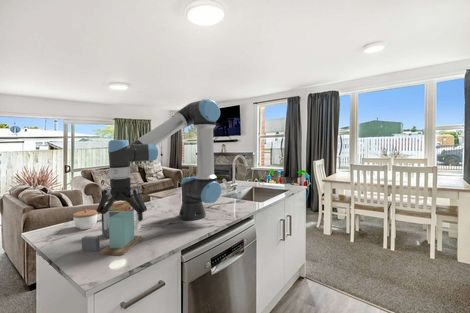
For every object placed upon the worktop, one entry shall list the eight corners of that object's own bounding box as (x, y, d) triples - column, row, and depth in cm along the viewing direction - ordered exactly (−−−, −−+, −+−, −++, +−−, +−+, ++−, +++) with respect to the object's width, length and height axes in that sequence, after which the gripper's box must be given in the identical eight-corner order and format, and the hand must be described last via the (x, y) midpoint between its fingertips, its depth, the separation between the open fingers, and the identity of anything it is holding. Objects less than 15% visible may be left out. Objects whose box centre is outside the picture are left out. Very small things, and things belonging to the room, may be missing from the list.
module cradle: (124, 234, 111) (123, 211, 111) (101, 250, 94) (100, 223, 94) (104, 234, 112) (103, 211, 111) (77, 250, 95) (75, 223, 94)
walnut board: (142, 238, 106) (142, 235, 106) (122, 254, 90) (122, 251, 90) (122, 238, 107) (122, 235, 107) (100, 254, 91) (100, 251, 91)
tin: (108, 220, 132) (107, 205, 132) (106, 219, 134) (105, 204, 134) (134, 214, 144) (134, 200, 143) (132, 213, 146) (131, 200, 145)
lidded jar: (87, 223, 128) (86, 206, 128) (103, 225, 125) (102, 207, 125) (68, 230, 118) (67, 211, 118) (85, 232, 115) (84, 212, 115)
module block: (134, 238, 103) (133, 210, 103) (122, 248, 93) (120, 218, 93) (123, 238, 104) (122, 210, 103) (109, 248, 94) (108, 218, 93)
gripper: (84, 179, 94) (87, 231, 96) (145, 178, 93) (148, 232, 94) (96, 176, 102) (99, 225, 103) (153, 175, 100) (155, 225, 101)
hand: (122, 228), depth 98 cm, fingers open, 13 cm apart
